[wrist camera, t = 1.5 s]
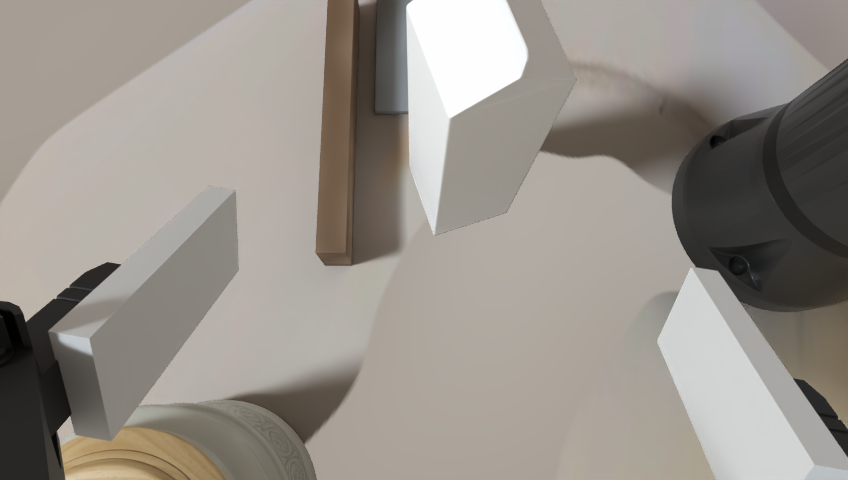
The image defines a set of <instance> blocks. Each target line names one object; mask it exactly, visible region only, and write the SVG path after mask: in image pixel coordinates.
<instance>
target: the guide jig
mask: <svg viewBox="0 0 848 480" xmlns="http://www.w3.org/2000/svg"><path fill="white" fill-rule="evenodd" d="M411 1H413V0H377V37H376V85H375V114H409V111H408V65H407V19H406V7H407V5H408V4H409V3H410V2H411ZM359 19H360V11H359V4H358V0H328V6H327V27H326V48H325V69H324V89H323V110H322V131H321V152H320V172H319V193H318V214H317V234H316V254H317V255H318V257H319V258H320V259H321V261H322V262H323V263H324V265H325V266H352V250H353V217H354V184H355V151H356V118H357V85H358V52H359Z"/></svg>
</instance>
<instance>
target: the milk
mask: <svg viewBox="0 0 848 480" xmlns="http://www.w3.org/2000/svg"><path fill="white" fill-rule="evenodd" d="M406 19H407V65H408V111H409V157H410V169H411V172H412V175H413V178H414V181H415V184H416V186H417V189H418V192H419V195H420V198H421V201H422V203H423V206H424V209H425V212H426V215H427V217H428V220H429V223H430V226H431V228H432V232H433V234H434V235H438V234H441V233H445V232H447V231H451V230H454V229H457V228H460V227H463V226H466V225H469V224H473V223H476V222H479V221H482V220H485V219H488V218H491V217H494V216H497V215H500V214H504V213H506V212H507V211H508V209H509V207H510V205H511V203H512V201H513V199H514V197H515V195H516V194H517V192H518V190H519V188H520V186H521V184H522V182H523V180H524V179H525V177H526V175H527V173H528V171H529V169H530V167H531V165H532V163H533V162H534V160H535V158H536V156H537V154H538V152H539V150H540V148H541V147H542V145H543V143H544V141H545V139H546V137H547V135H548V133H549V131H550V130H551V128H552V126H553V124H554V122H555V120H556V118H557V116H558V114H559V113H560V111H561V109H562V107H563V105H564V103H565V101H566V99H567V97H568V96H569V94H570V92H571V90H572V88H573V86H574V84H575V82H576V77H575V74H574V72H573V70H572V68H571V66H570V64H569V61H568V59H567V57H566V55H565V53H564V50H563V48H562V46H561V44H560V42H559V39H558V37H557V35H556V33H555V31H554V29H553V26H552V24H551V22H550V20H549V18H548V15H547V13H546V11H545V9H544V7H543V4H542V2H541V0H413V1H411V2H410V3H409V4H408V5H407V7H406Z"/></svg>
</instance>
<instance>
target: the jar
mask: <svg viewBox="0 0 848 480" xmlns="http://www.w3.org/2000/svg"><path fill="white" fill-rule="evenodd" d="M60 447H61V453H62V460H63V467H64V473H65V480H317V479H316V474H315V470H314V467H313V463H312V461H311V458H310V455H309V453H308V451H307V449H306V447H305V446H304V444H303V442H302V441H301V439H300V438H299V436H298V435H297V434H296V433H295V431H294V430H293V429H292V428H291V427H290V426H289V425H288V424H287V423H286V422H285V421H283V420H282V419H281V418H280V417H278V416H277V415H275V414H274V413H272V412H270V411H269V410H267V409H265V408H263V407H260V406H258V405H255V404H251V403H248V402H243V401H236V400H212V401H205V402H200V403H196V404H194V403H174V404H166V405H143V406H138V407H137V408H136V409H135V411H134V412H133V413H132V415H131V416H130V417H129V419H128V420H127V421H126V423H125V424H124V426H123V427H122V428H121V430H120V431H119V432H118V434H117V435H116V436H115V438H114V439H113V440H112V442H111V441H106V440H100V439H95V438H89V437H83V436H78V435H75V432H72V433H71V434H70V435H68V436H67V437H66V438H64V439H63V440H62V441H61V442H60Z"/></svg>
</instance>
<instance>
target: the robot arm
mask: <svg viewBox="0 0 848 480" xmlns="http://www.w3.org/2000/svg"><path fill="white" fill-rule="evenodd" d="M672 213H673V219H674V224H675V228H676V231H677V234H678V237H679V239H680V241H681V244H682V245H683V247H684V249H685V251H686V253H687V255H688V256H689V258H690V259H691V261H692V262H693V263H694V264H695V266H696V267H697V268H696V267H691V268H690V270H689V272H688V274H687V277H686V279H685V281H684V283H683V286H682V288H681V290H680V292H679V294H678V296H677V299H676V301H675V303H674V305H673V308H672V310H671V312H670V314H669V316H668V319H667V321H666V323H665V325H664V327H663V330H662V332H661V334H660V336H659V338H658V341H657V342H658V345H659V347H660V349H661V352H662V354H663V357H664V359H665V361H666V364H667V366H668V368H669V371H670V373H671V375H672V378H673V380H674V382H675V385H676V387H677V390H678V392H679V394H680V397H681V399H682V401H683V404H684V406H685V408H686V411H687V413H688V415H689V418H690V420H691V423H692V425H693V427H694V430H695V432H696V434H697V437H698V439H699V441H700V444H701V446H702V448H703V451H704V453H705V456H706V458H707V460H708V463H709V465H710V467H711V470H712V472H713V474H714V477H715V479H716V480H848V429H847V428H846V427H845V425H844V424H843V422H842V421H841V420H838V416H837V414H836V413H835V412H834V410H833V409H832V408H831V406H830V405H829V403H828V402H827V401H826V399H825V398H824V397H823V396H822V395H820V394H819V393H818V392H817V391H816V390H815V389H813V388H812V387H811V386H810V385H809V384H808V383H806V382H805V381H804V380H799V379H794V378H792V377H791V375H790V374H789V372H788V371H787V370H786V368H785V367H784V365H783V364H782V362H781V361H780V359H779V358H778V357H777V355H776V354H775V352H774V351H773V349H772V348H771V347H770V345H769V344H768V342H767V341H766V339H765V338H764V336H763V335H762V334H761V332H760V331H759V329H758V328H757V326H756V325H755V324H754V322H753V321H752V319H751V318H750V316H749V315H748V313H747V312H746V311H745V309H744V308H743V306H742V305H741V303H740V302H739V301H741V302H743V303H746V304H748V305H751V306H754V307H757V308H761V309H766V310H771V311H780V312H793V311H802V310H808V309H813V308H818V307H823V306H827V305H831V304H834V303H837V302H840V301H842V300H844V299H846V298H848V59H846V60H845V61H844V62H843V63H841V64H840V65H839V66H837V67H836V68H835V69H833V70H832V71H831V72H829V73H828V74H827V75H825V76H824V77H823V78H821V79H820V80H819V81H817V82H816V83H815V84H813V85H812V86H810V87H809V88H808V89H806V90H805V91H804V92H803V93H801V94H800V95H799V96H798V97H796V98H795V99H794V100H792V101H791V102H789V103H786V104H783V105H779V106H776V107H772V108H769V109H765V110H762V111H758V112H755V113H751V114H748V115H744V116H741V117H738V118H736V119H733V120H731V121H729V122H727V123H725V124H723V125H721V126H720V127H718V128H717V129H715V130H714V131H713V132H711V133H710V134H709V135H708V136H706V137H705V138H704V139H703V140H702V141H701V142H699V143H698V144H697V145H696V146H695V147H694V148H693V149H692V150H691V151H690V152H689V154H688V155H687V156H686V157H685V159H684V161H683V162H682V164H681V166H680V168H679V170H678V172H677V175H676V178H675V181H674V185H673V192H672ZM238 270H239V265H238V239H237V213H236V190H233V189H227V188H221V187H215V186H208V187H207V188H206V189H205V190H204V191H203V192H202V193H201V194H200V195H198V196H197V197H196V198H195V199H194V200H193V201H192V202H191V203H190V204H188V205H187V206H186V207H185V208H184V209H183V210H182V211H181V212H180V213H178V214H177V215H176V216H175V217H174V218H173V219H172V220H171V221H170V222H168V223H167V224H166V225H165V226H164V227H163V228H162V229H161V230H160V231H158V232H157V233H156V234H155V235H154V236H153V237H152V238H151V239H150V240H149V241H147V242H146V243H145V244H144V245H143V246H142V247H141V248H140V249H139V250H137V251H136V252H135V253H134V254H133V255H132V256H131V257H130V258H129V259H127V260H126V261H125V262H124V263H123V264H122V265H121V264H115V263H109V262H107V263H105V264H102V265H100V266H98V267H96V268H94V269H91V270H89V271H87V272H85V273H84V274H83V275H82V276H80V277H79V278H78V279H77V280H76V281H74V282H73V283H72V284H71V285H70V287H69V288H66V289H65V290H64V291H62V292H61V293H60V294H59V295H58V296H57V299H53V300H52V301H51V302H49V303H48V304H47V305H46V306H45V307H43V308H42V309H41V310H40V311H39V312H37V313H36V314H35V315H34V316H33V317H31V318H30V319H29V320H28V321H27V322H25V319H24V315H23V313H22V311H21V309H20V308H19V306H17V305H15V304H12V303H10V302H4V301H0V480H65V473H64V467H63V460H62V453H61V447H60V441H59V437H58V434H57V430H58V429H59V428H60V427H61V425H62V424H63V423H64V422H65V421H66V420H67V418H68V417H69V416H70V417H71V420H72V424H73V428H74V432H75V435H78V436H83V437H89V438H95V439H100V440H106V441H111V442H112V440H113V439H114V438H115V436H116V435H117V434H118V432H119V431H120V430H121V428H122V427H123V426H124V424H125V423H126V421H127V420H128V419H129V417H130V416H131V415H132V413H133V412H134V411H135V409H136V408H137V407H138V405H139V404H140V403H141V401H142V400H143V399H144V397H145V396H146V394H147V393H148V392H149V390H150V389H151V388H152V386H153V385H154V384H155V382H156V381H157V380H158V378H159V377H160V376H161V374H162V373H163V371H164V370H165V369H166V367H167V366H168V365H169V363H170V362H171V361H172V359H173V358H174V357H175V355H176V354H177V353H178V351H179V350H180V349H181V347H182V346H183V344H184V343H185V342H186V340H187V339H188V338H189V336H190V335H191V334H192V332H193V331H194V330H195V328H196V327H197V326H198V324H199V323H200V322H201V320H202V319H203V317H204V316H205V315H206V313H207V312H208V311H209V309H210V308H211V307H212V305H213V304H214V303H215V301H216V300H217V299H218V297H219V296H220V294H221V293H222V292H223V290H224V289H225V288H226V286H227V285H228V284H229V282H230V281H231V280H232V278H233V277H234V276H235V274H236V273H237V272H238ZM738 300H739V301H738Z"/></svg>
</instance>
